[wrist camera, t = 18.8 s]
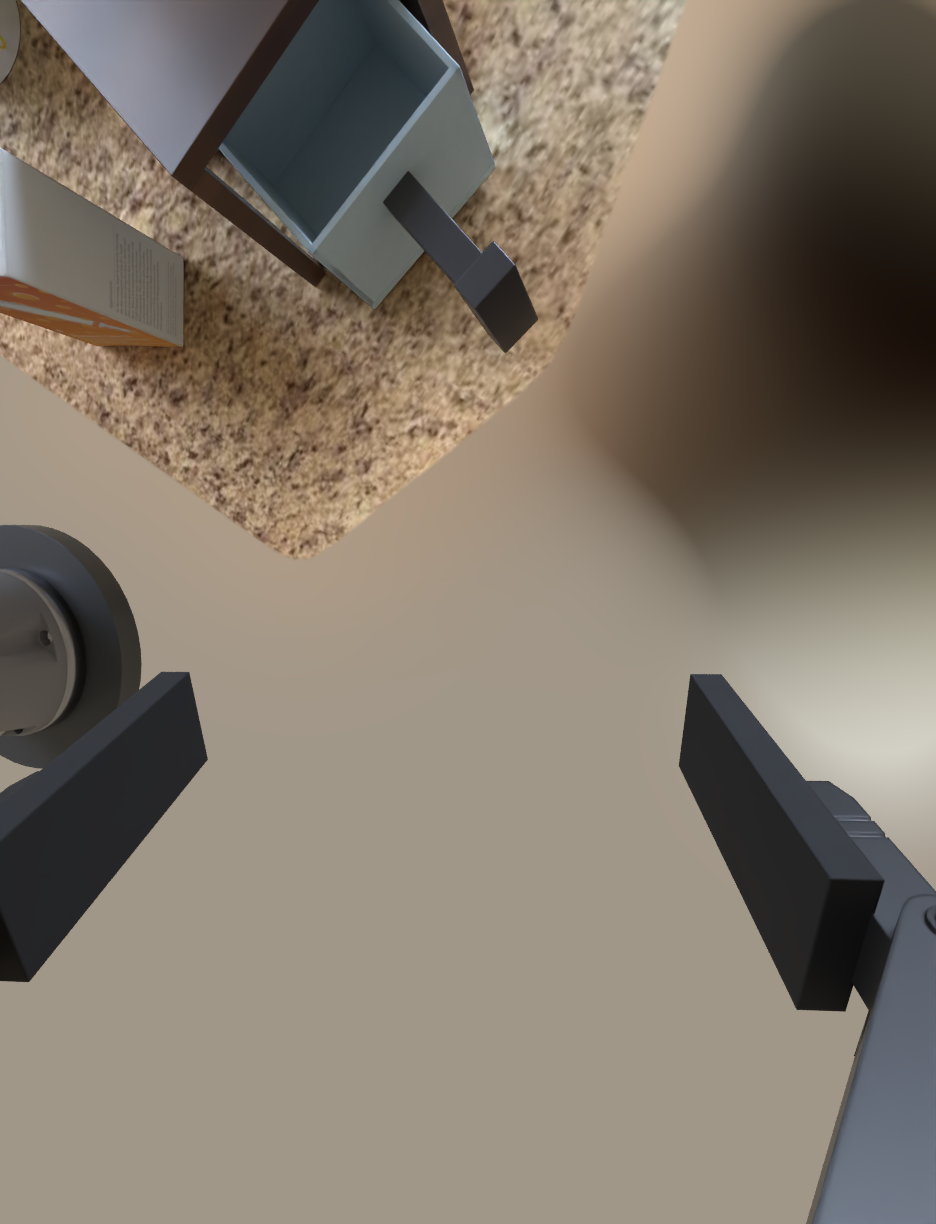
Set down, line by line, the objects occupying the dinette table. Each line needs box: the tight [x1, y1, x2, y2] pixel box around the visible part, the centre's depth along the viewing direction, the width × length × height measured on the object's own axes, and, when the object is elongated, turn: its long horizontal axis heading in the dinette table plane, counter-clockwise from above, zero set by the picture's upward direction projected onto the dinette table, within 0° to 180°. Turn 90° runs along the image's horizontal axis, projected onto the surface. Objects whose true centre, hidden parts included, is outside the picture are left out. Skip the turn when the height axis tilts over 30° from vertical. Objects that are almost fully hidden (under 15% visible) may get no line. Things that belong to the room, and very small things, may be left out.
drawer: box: [218, 0, 538, 353], centre depth 32 cm, size 20×11×10 cm, turn 41°
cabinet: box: [21, 0, 474, 287], centre depth 31 cm, size 14×15×13 cm
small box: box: [0, 148, 184, 347], centre depth 37 cm, size 8×6×13 cm
